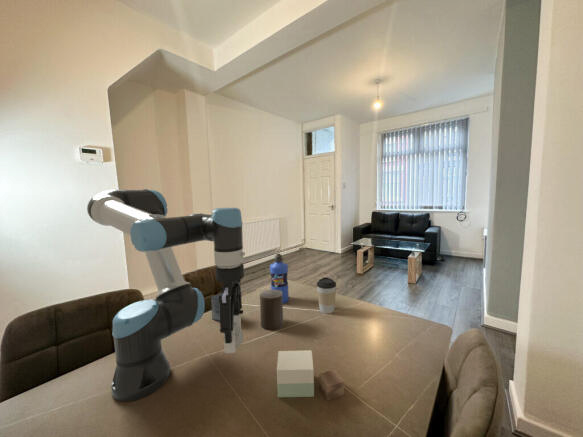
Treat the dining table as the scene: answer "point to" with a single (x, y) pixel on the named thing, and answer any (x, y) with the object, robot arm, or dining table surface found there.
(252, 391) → the dining table surface
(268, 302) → the pillar candle
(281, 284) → the blue plastic bottle
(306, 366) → the cream and green box
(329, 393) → the brick
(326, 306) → the coffee cup
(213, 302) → the small box
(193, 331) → the dining table surface
